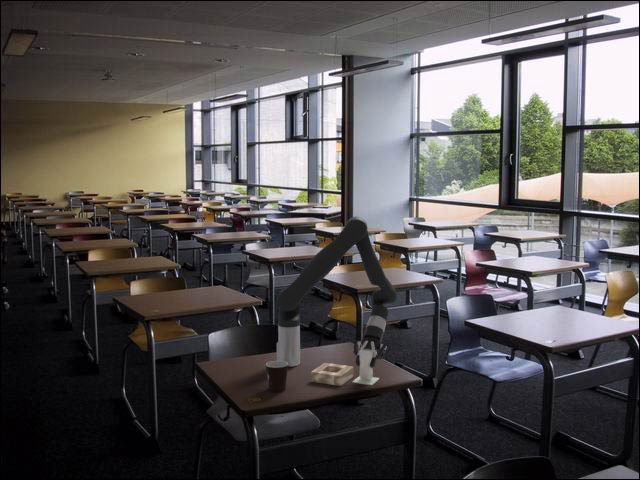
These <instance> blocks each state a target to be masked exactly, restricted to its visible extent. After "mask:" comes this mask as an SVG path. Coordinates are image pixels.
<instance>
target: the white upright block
mask: <svg viewBox="0 0 640 480" xmlns="http://www.w3.org/2000/svg"><path fill="white" fill-rule="evenodd" d="M359 351H360V366H359V376H360V378H361V379H365V380H368V379H372V378H373V377H374V376H373V375H374V373H373V371H374V370H373V369H374V367H373V368H371V367H370V363H371V360H372V358H373V350H371V349H361V350H360V349H359Z"/></svg>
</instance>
